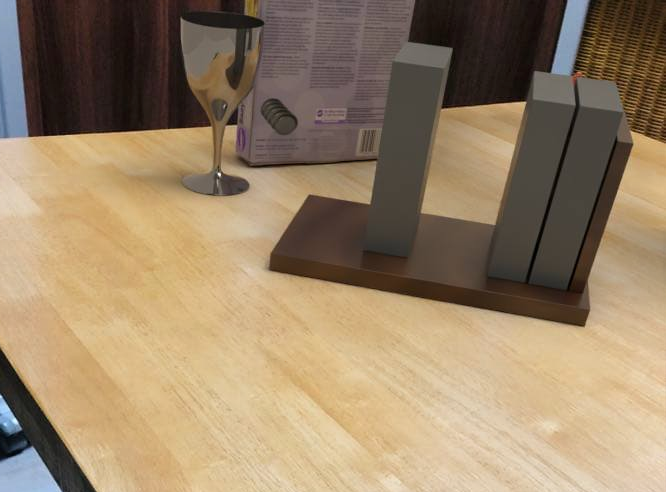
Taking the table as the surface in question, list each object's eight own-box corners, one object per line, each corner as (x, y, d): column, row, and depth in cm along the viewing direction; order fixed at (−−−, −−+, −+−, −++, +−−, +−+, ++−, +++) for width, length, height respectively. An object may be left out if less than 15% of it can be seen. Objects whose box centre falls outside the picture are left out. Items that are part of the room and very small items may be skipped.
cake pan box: (378, 146, 105) (404, -25, 94) (399, 159, 102) (429, -17, 90) (232, 154, 98) (241, -29, 87) (249, 169, 95) (261, -20, 84)
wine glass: (194, 199, 87) (198, 29, 77) (167, 173, 92) (168, 10, 82) (265, 193, 90) (278, 28, 80) (236, 168, 95) (244, 11, 85)
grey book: (418, 226, 82) (453, 48, 72) (407, 258, 76) (444, 68, 66) (376, 219, 82) (405, 41, 72) (362, 250, 76) (392, 60, 66)
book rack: (579, 254, 83) (628, 103, 74) (584, 326, 71) (644, 155, 63) (307, 209, 87) (323, 59, 78) (269, 269, 75) (283, 101, 66)
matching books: (564, 247, 80) (616, 82, 71) (566, 290, 73) (624, 111, 64) (492, 235, 81) (534, 70, 72) (486, 276, 74) (532, 98, 65)
